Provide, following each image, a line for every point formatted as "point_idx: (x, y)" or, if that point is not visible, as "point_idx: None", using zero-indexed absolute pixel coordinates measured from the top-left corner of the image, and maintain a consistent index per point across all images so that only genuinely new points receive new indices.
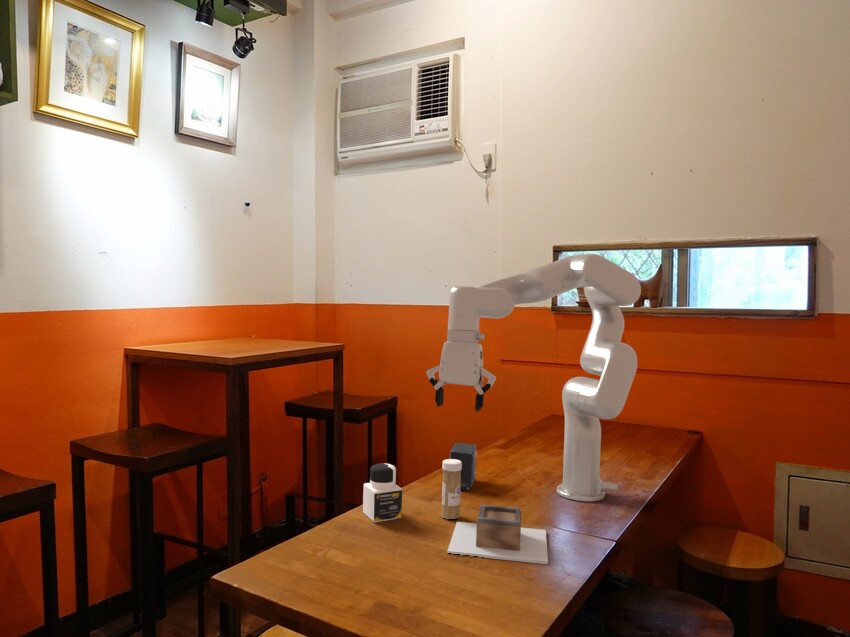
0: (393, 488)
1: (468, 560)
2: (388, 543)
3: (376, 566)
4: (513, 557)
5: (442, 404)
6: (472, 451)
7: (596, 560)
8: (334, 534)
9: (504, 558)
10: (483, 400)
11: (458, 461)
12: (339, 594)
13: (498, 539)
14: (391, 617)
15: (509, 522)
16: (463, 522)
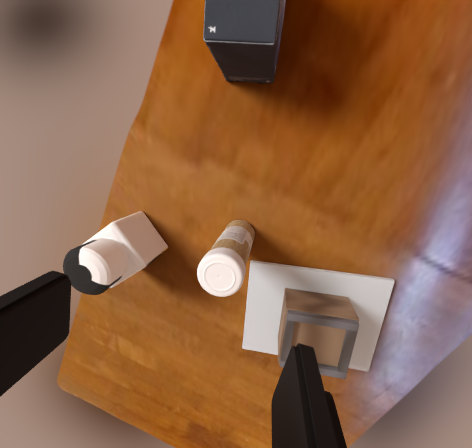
0: (131, 270)
1: (268, 359)
2: (171, 322)
3: (173, 370)
4: None
5: (68, 290)
6: (276, 11)
7: (442, 358)
8: (106, 303)
9: None
10: (341, 438)
11: (234, 279)
12: (157, 411)
13: None
14: (206, 441)
15: (328, 375)
16: (260, 264)
